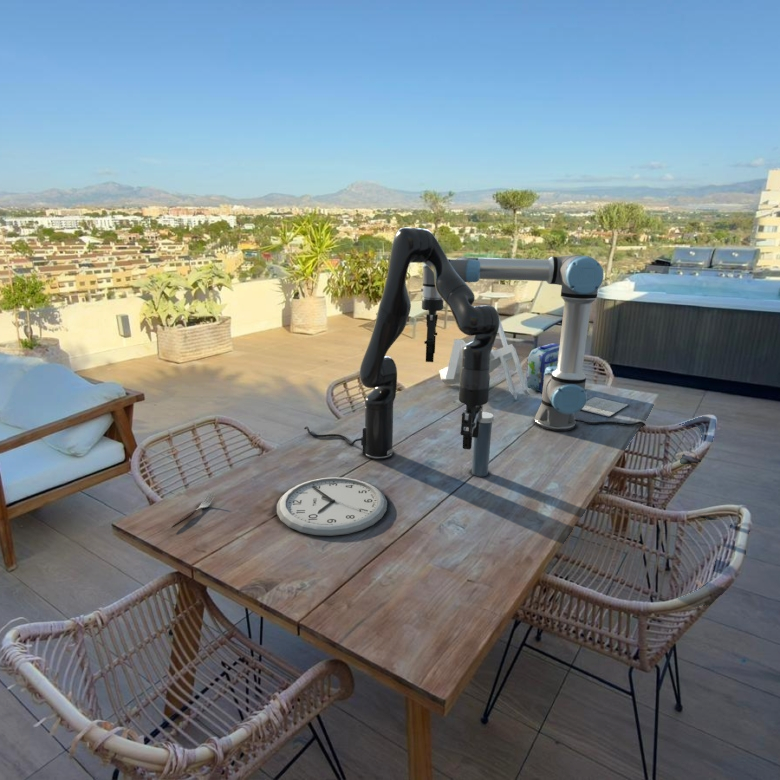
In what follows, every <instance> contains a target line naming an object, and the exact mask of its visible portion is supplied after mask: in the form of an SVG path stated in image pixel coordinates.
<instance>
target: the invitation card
mask: <svg viewBox="0 0 780 780" xmlns="http://www.w3.org/2000/svg"><path fill="white" fill-rule="evenodd" d="M628 406H629V404H627V403H623V402H618V401H614V400H609V399H605V398H601V397H596V396H593V397H592V398H590V399H587V401H586V404H585V406H584V407H583V408H582V409H581V410H580V411H584V412H587V413H593V414H596V415H600V416H604V417H608V418H609V417H611V416H613V415H614V414H616V413H617V412H619V411H621V410H623V409H624V408H626V407H628Z"/></svg>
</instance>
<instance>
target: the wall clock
mask: <svg viewBox="0 0 780 780" xmlns="http://www.w3.org/2000/svg"><path fill="white" fill-rule="evenodd" d="M387 509H388V500H387V498H386V496H385V494H384V493H383V492H382V491H381V490H380V489H379V488H377V487H376V486H374V485H372V484H371V483H369V482H365V481H362V480H359V479H355V478H349V477H338V476H337V477H335V476H333V477H332V476H331V477H322V478H317V479H312V480H307V481H305V482H302V483H299V484H297V485H295V486H293V487H292V488H290V489H288V490H287V491H286V492H285V493H284V494H283V495H281V496H280V498H279V499H278V502H277V503H276V515H277V517H278V518H279V520H280V521H281V522H282V523H283V524H285V525H286V526H287V527H288V528H290V529H293V530H295V531H297V532H299V533H303V534H308V535H312V536H327V537H328V536H329V537H331V536H332V537H333V536H342V535H350V534H352V533H356V532H361V531H363V530H366V529H368V528H369V527H372V526H373V525H375V524H376V523H378V522H379V521H380V520H381V519H382V518H383V517H384V516H385V514H386V512H387Z"/></svg>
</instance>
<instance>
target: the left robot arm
mask: <svg viewBox="0 0 780 780" xmlns="http://www.w3.org/2000/svg"><path fill="white" fill-rule="evenodd" d="M390 249H391V250H390V257H389V261H388V269H387V273H386V279H385V283H384V286H383V290H382V291H383V292H382V295H381V299H380V301H379V305H378V310H377V313H376V317H375V322H374V325H373V329H372V333H371V336H370V339H369V342H368V345H367V348H366V350H365V352H364V354H363V358H362V359H361V360H362V361H361V363H360V367H359V380H360V382H361V384H362V385H363V386H364V387H365V388H367V389H373V390H372V391H371V392H369V394H367V395H366V397H364V427H362V436H361V437H360V438H356V439H354V440H353V441H352V442H351V441H350V440H349V439H348V438H347V437H346V436H345V435H342V434H338V433H330V434H327V433H326V434H315V433H312V432H311V430H310V428H309V427H308V426H305V427H303V429H304V430H306V431H307V433H308V434H309V435H310V436H311V437H316V438H325V437H327V438H328V437H339V438H342V439H343V440H344V441H346V443H347V444H349V445H354V444H355V443H357V442H359V441H360V446H362V456H365V457H367V458H369V459H371V460H386V459H389V458H391V457H392V456H393V449H394V448H393V444H394V443H393V442H394V441H393V439H394V438H393V437H394V436H393V435H394V401H395V399H396V397H397V384H398V383H397V382H398V369H397V368H398V367H397V364H396V362H395V360H394V359H393V358H392V357H390V356H389V355H388V356H387V353H388V351H389V349H390V348H391V347H392V346H393V345H394V343H395V342H396V341H397V339H399V337H400V336H401V334H402V333H403V332H404V330H405V328H406V325H407V323H408V320H409V317H410V313H411V308H412V304H411V303H412V301H411V298H410V295H409V292H408V288H407V284H406V280H407V273H408V269H409V266H410V264H411V263H412V264H413V263H415V264H417V263H418V264H420V263H421V264H423V263H424V264H426V265H427V266H428V267H429V268H430V269H431V270H432V271H433V273H434V280H435V287H436V290H437V292H438V293H439V295H440V296H441V298H442V299H443V302H444V303H445V304H446V305H447V306H448V307H449V309H450V311H451V314H452V318H453V319H454V322H455V324H456V327H457V328H458V330H459V331H460V332H461V333H463V334H464V335H466V336H470V337H471V336H472V337H473V336H474V337H473V340H472V341H470V342H468V343H466V345H465V346H464V348H463V353H462V368H461V373H460V383H459V388H458V401H459V402H460V403H461V404H463V405H465V406H466V407H465V408H464V409H463V412H462V413H461V423H460V432H459V433H460V436H462V449H464V450H471V449H472V448H473V447H472V445H473V438H474V437H475V438H477V437H478V436H479V424H480V423H481V421H480V420H481V419H482V412H483V407H484V405H486V404H487V403H488V402H489V395H490V392H489V391H490V380H491V379H490V378H491V372H490V353H491V350H493V347H494V345H495V342H496V339H497V338H496V337H497V335H498V333H499V331H498V329H499V323H500V321H501V319H500V320H499V318H500V314H499V312H498V310H497V309H496V308H495V306H492V305H489V304H486V305H485V304H484V305H475V306H474V305H473V304H474V303H475V299H476V298H475V293H474V292H473V290H472V289H471V288H470V287H469V285H468V284H467V282H464V281H463V280H462V278H461V277H460V276H459V275H458V274H457V273H456V271H455V270H454V268H453V267H452V265H451V264H450V262H449V260H448V259H449V258H448V257H447V255H446V253H445V251H444V249H443V248H442V246H441V244H440V243H439V241H438V239H437V238H436V236H435V235H434V234H433V233H432V232H431V231H430V230H429V229H426V228H420V227H419V228H417V227H401V228H399V229H398V230H397V231H396V233H395V235H394V237H393V241H392V245H391V248H390ZM467 428H468V430H467Z"/></svg>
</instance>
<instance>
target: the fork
mask: <svg viewBox="0 0 780 780" xmlns="http://www.w3.org/2000/svg"><path fill="white" fill-rule="evenodd" d="M216 495H217V494H212V493H208V494H207V495H206V497H205V498H204V499H203V501H202V502H201V503H200V505H198V507H197V508H196V509H193V510H192V511H190V512H188V513H187V514H185V515H183V517H181V518H180V519H179V520H178V521H176V522H175V523H174V524H173V525H172V526H171V529H173V528H175V527H176V526H178V525H179V524H181V523H183V522H184V521H186V520H188V519H189V518H191V517H192V516H193V515H194V514H195V513H197V511H198V510H200V509H207V508H208V507H210V505H211V504H212V502H213V501H214V499H215V497H216Z"/></svg>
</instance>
